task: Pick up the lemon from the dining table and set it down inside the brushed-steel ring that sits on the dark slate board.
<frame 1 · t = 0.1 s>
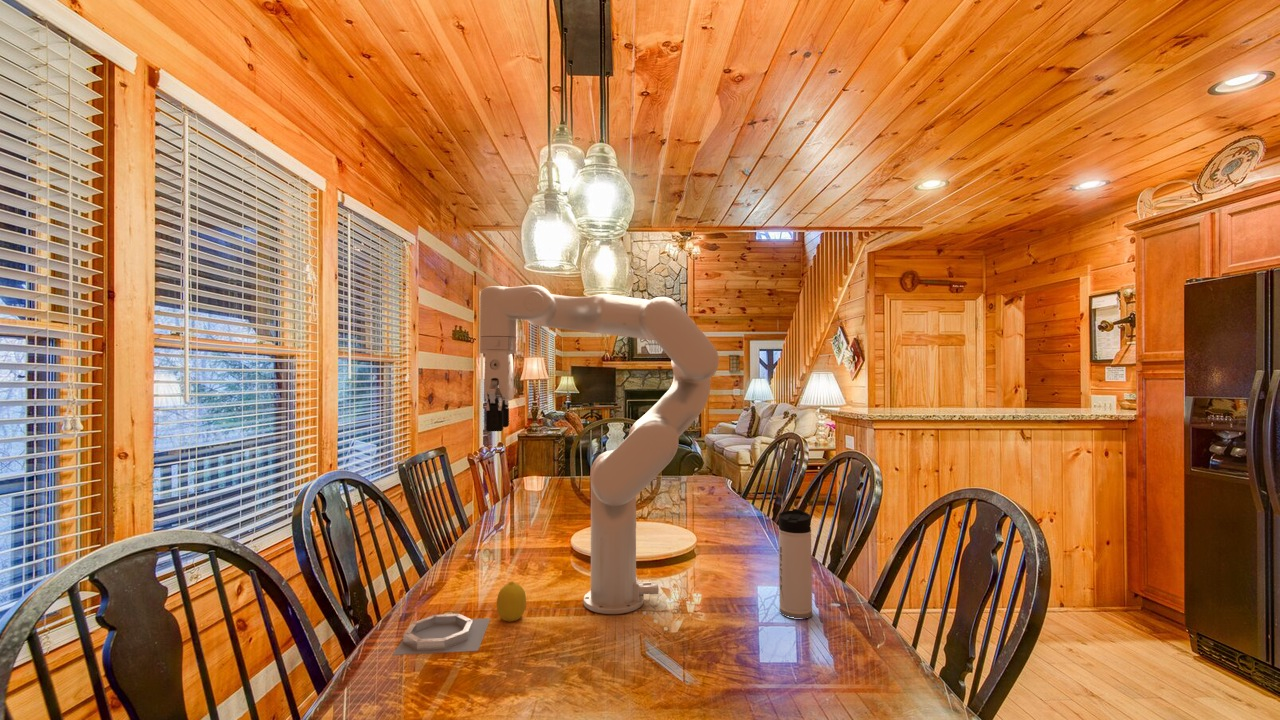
hand: (498, 428, 117), 37 cm above the table, tool pointing down, fingers open, 9 cm apart
lemon: (511, 624, 108), on the table
travel mug: (795, 614, 113), on the table
board: (444, 640, 101), on the table
ring: (439, 635, 101), resting on board
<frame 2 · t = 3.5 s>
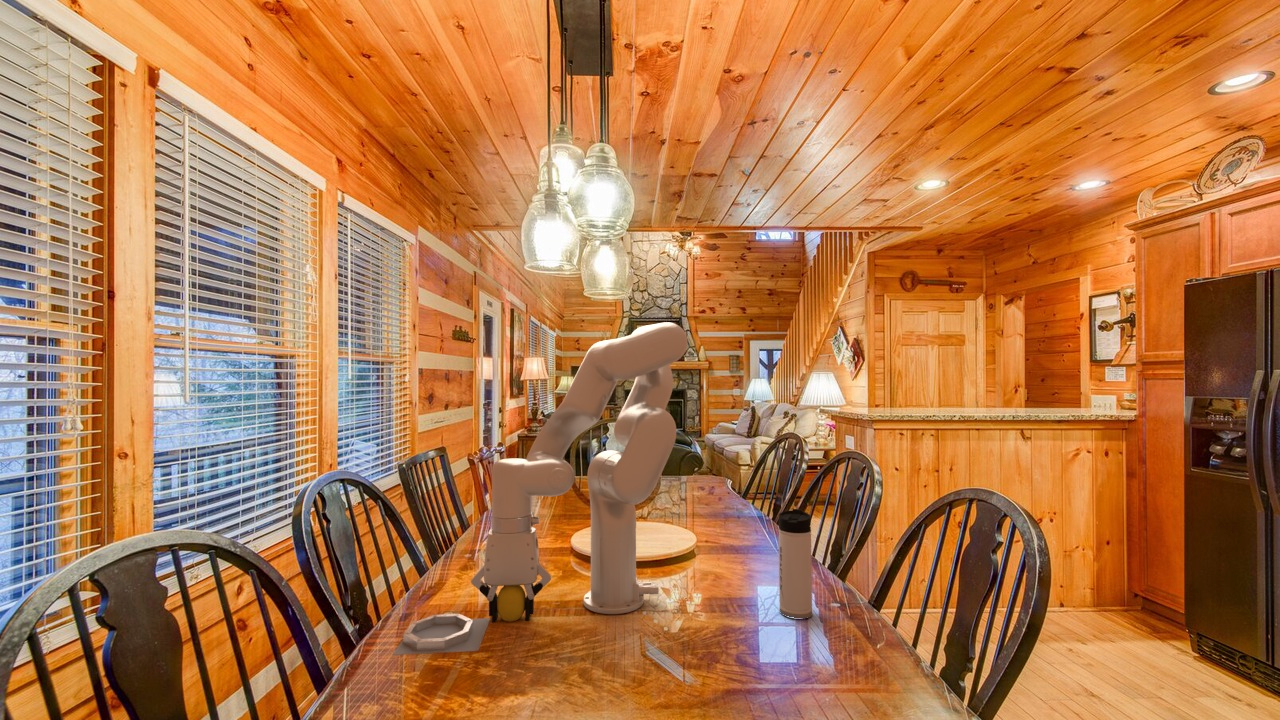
hand: (511, 617, 108), 1 cm above the table, tool pointing down, fingers closed on lemon, 5 cm apart
lemon: (511, 624, 108), on the table, touching gripper
everything else where it was.
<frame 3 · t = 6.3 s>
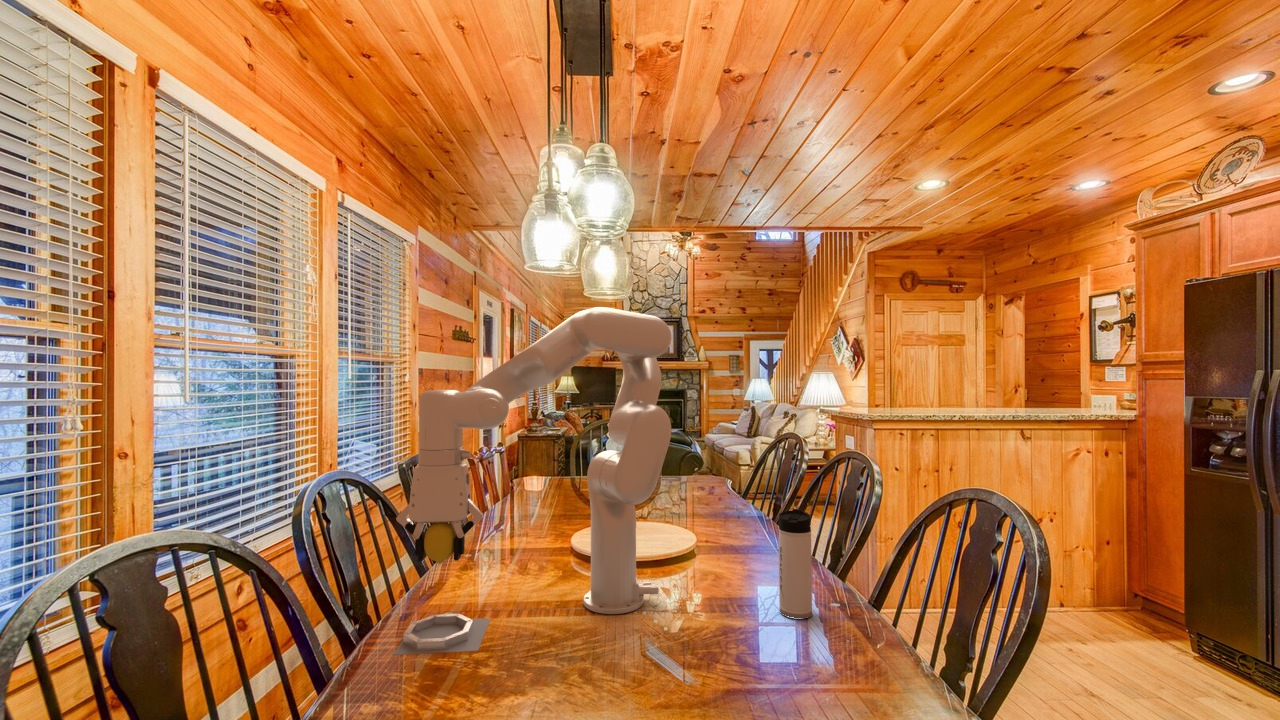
hand: (440, 557, 102), 15 cm above the table, tool pointing down, fingers closed on lemon, 5 cm apart
lemon: (440, 565, 102), point 14 cm above the table, touching gripper
everything else where it was.
when the fingers open (3 cm above the table, at t = 9.1 s): lemon drops 1 cm, resting on board.
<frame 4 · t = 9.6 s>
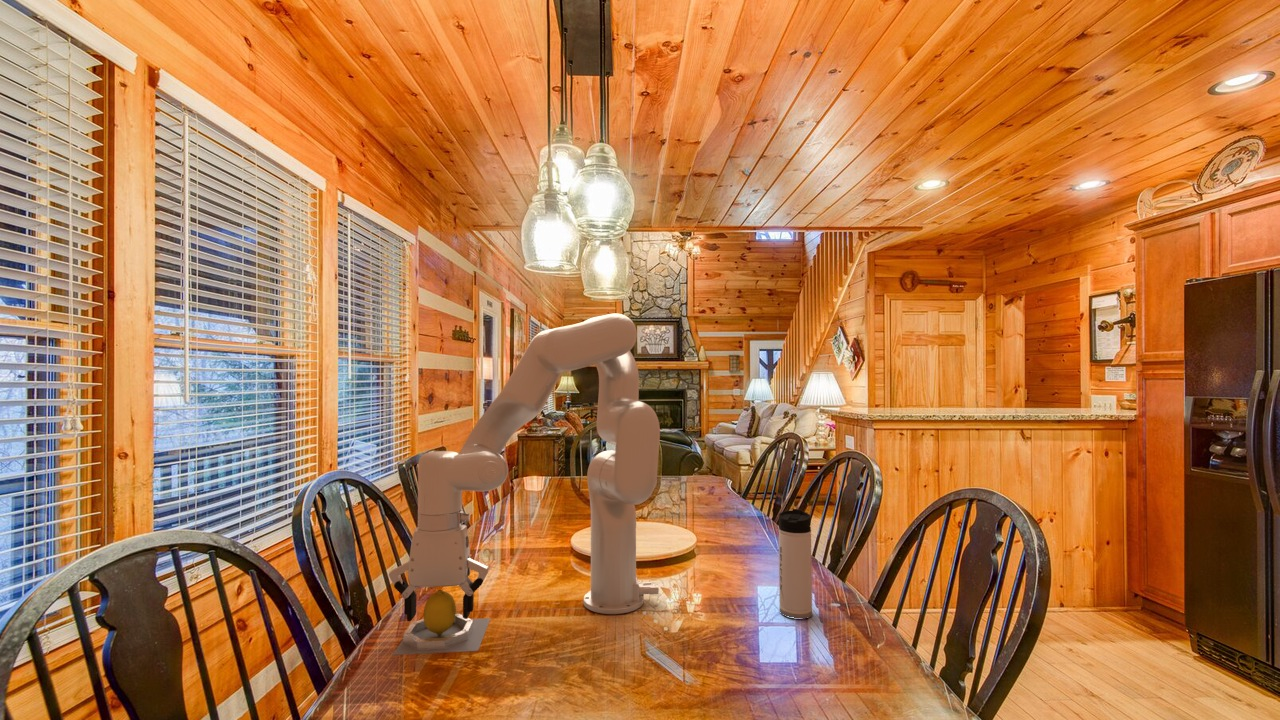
hand: (439, 616, 101), 4 cm above the table, tool pointing down, fingers open, 9 cm apart
lemon: (439, 636, 101), point 1 cm above the table, touching board
everything else where it was.
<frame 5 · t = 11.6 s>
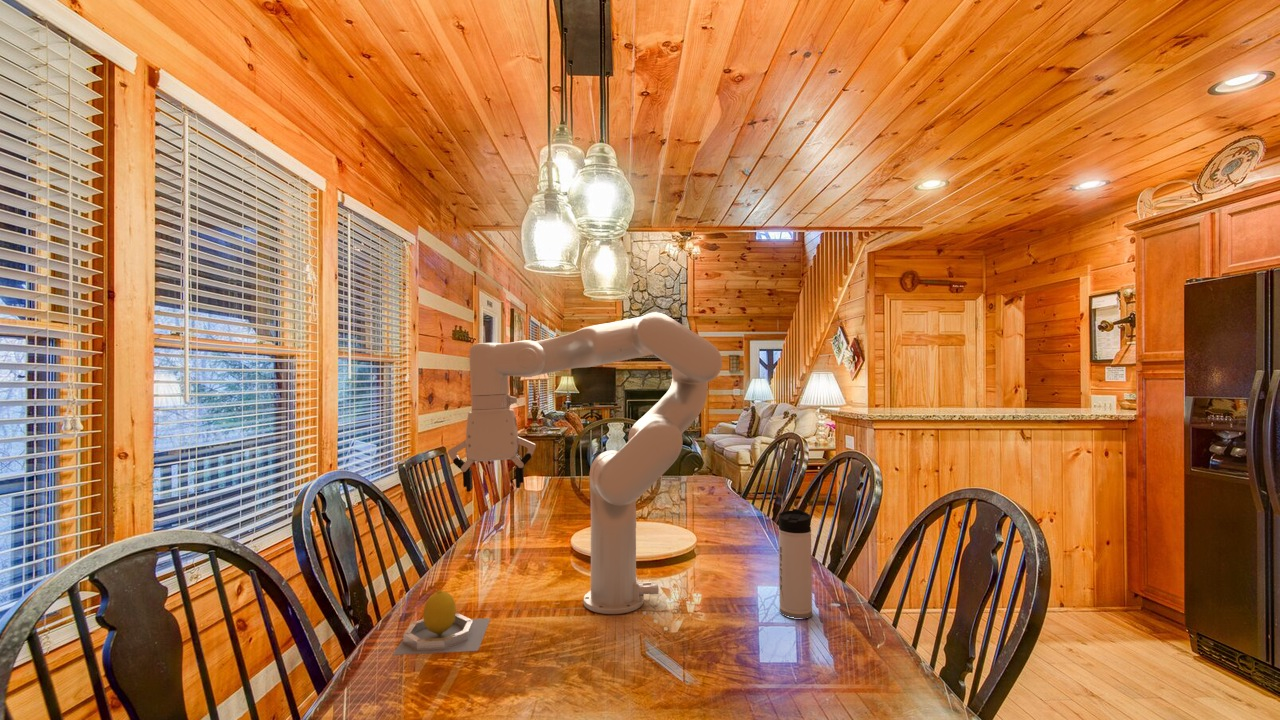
hand: (494, 488, 114), 25 cm above the table, tool pointing down, fingers open, 9 cm apart
nothing on the table moved.
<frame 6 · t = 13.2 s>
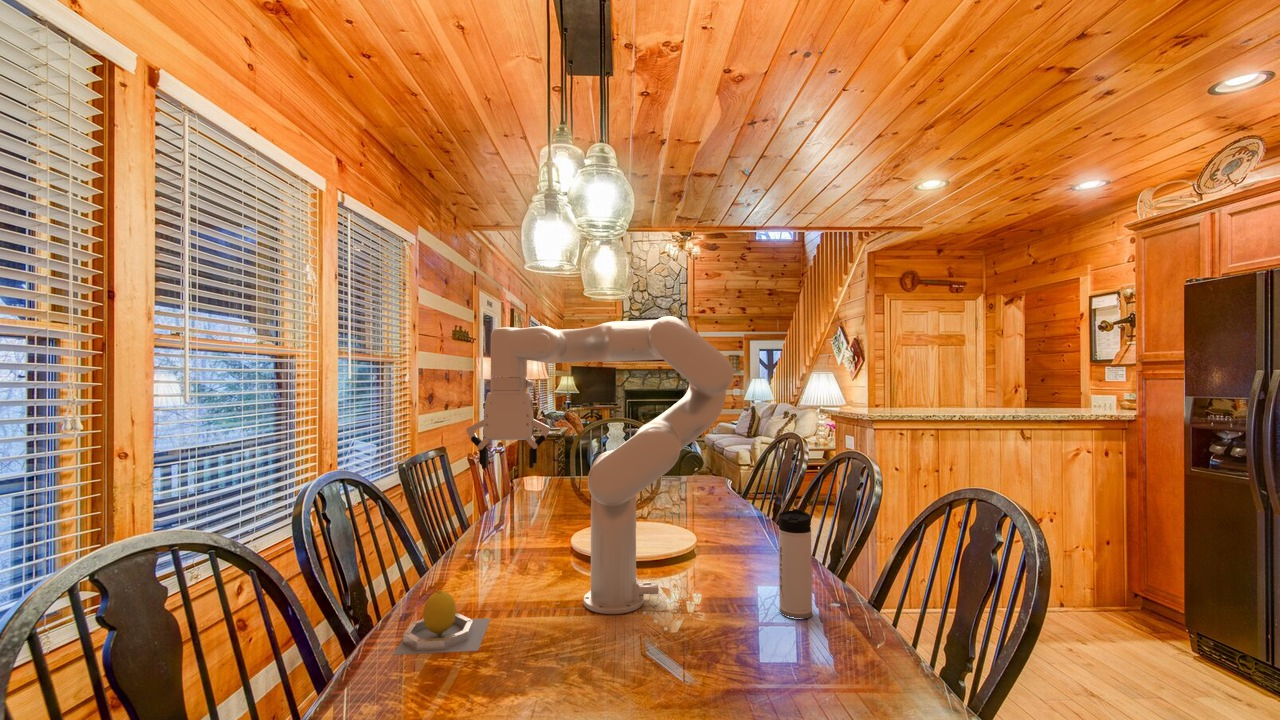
hand: (508, 467, 119), 28 cm above the table, tool pointing down, fingers open, 9 cm apart
nothing on the table moved.
at the end: lemon 0.1 cm off-centre on the ring, point 0.0 cm above the ring's base; the gripper is holding nothing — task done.
